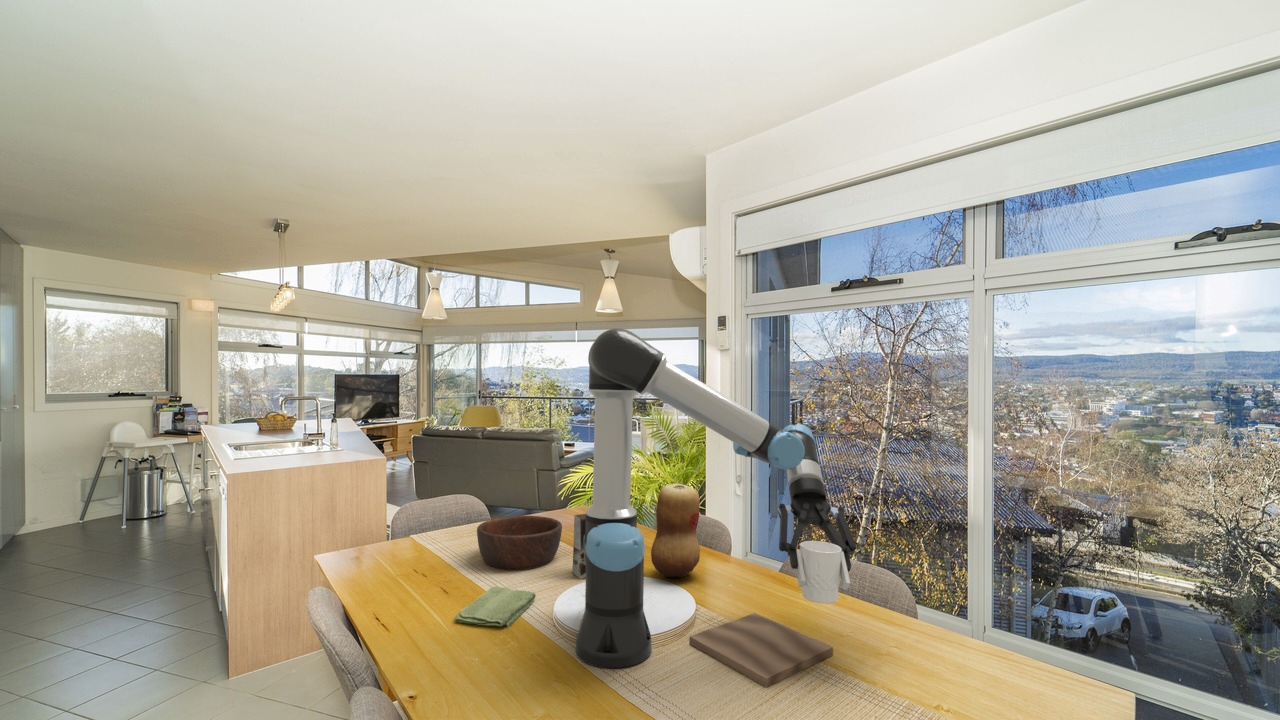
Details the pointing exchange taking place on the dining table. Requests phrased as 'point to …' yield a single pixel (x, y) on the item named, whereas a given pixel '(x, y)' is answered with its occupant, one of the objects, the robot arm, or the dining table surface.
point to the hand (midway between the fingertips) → (824, 585)
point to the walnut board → (761, 648)
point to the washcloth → (496, 607)
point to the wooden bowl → (519, 541)
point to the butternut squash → (676, 531)
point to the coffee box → (579, 546)
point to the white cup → (821, 571)
